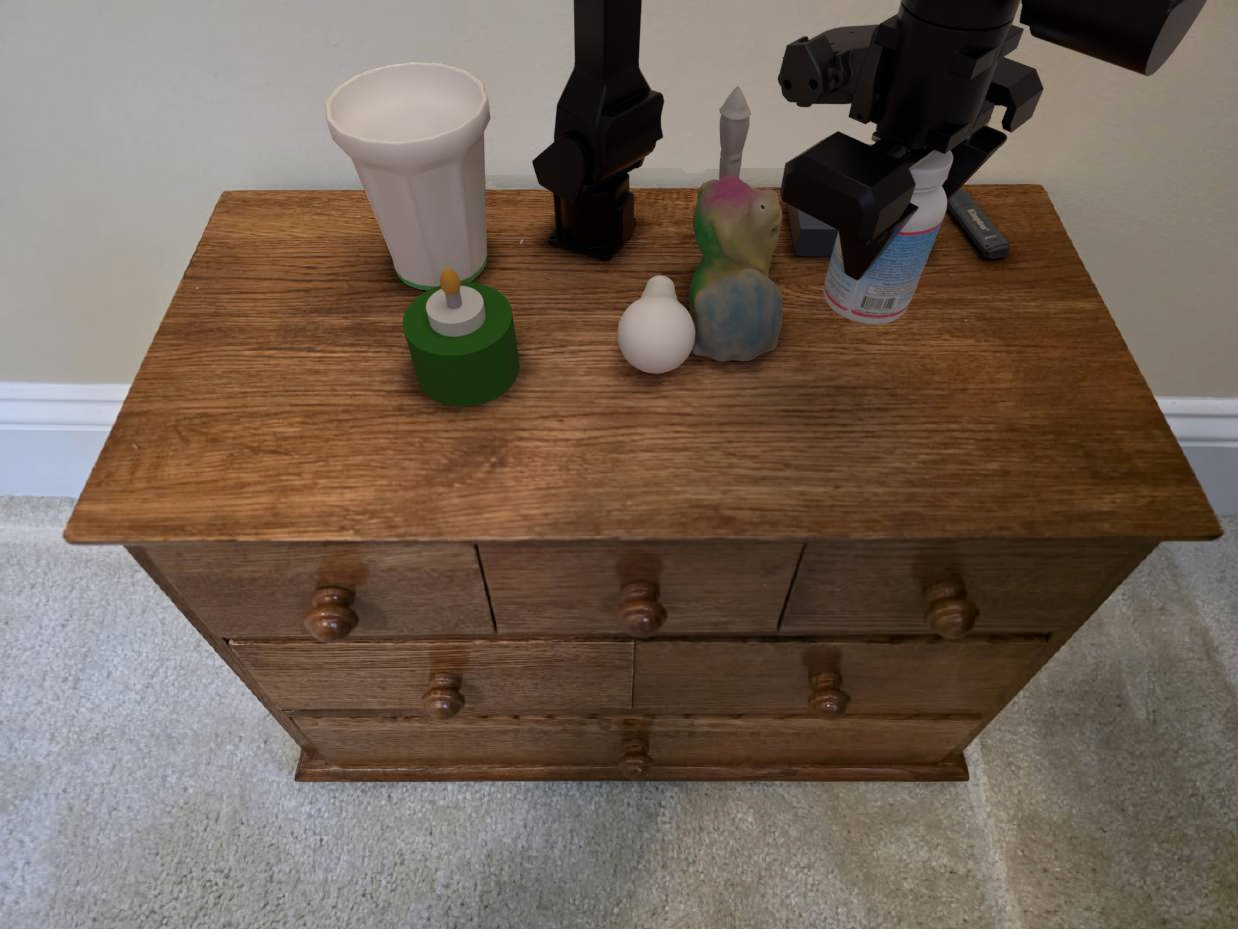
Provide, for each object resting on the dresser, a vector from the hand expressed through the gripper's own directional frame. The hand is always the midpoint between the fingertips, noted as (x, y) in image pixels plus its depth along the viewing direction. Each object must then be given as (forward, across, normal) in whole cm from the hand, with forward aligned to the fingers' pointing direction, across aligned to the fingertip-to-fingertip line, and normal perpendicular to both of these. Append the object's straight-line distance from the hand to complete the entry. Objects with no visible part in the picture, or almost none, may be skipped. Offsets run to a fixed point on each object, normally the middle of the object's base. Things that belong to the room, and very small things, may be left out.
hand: (881, 254), depth 54 cm
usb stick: (+13, -26, -3) cm, 29 cm away
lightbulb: (+11, +2, -18) cm, 21 cm away
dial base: (+13, -18, -11) cm, 25 cm away
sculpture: (+13, -1, -12) cm, 18 cm away
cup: (+13, +13, -35) cm, 40 cm away
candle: (+13, +20, -23) cm, 33 cm away
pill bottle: (+4, 0, 0) cm, 4 cm away
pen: (+13, -9, -20) cm, 25 cm away
